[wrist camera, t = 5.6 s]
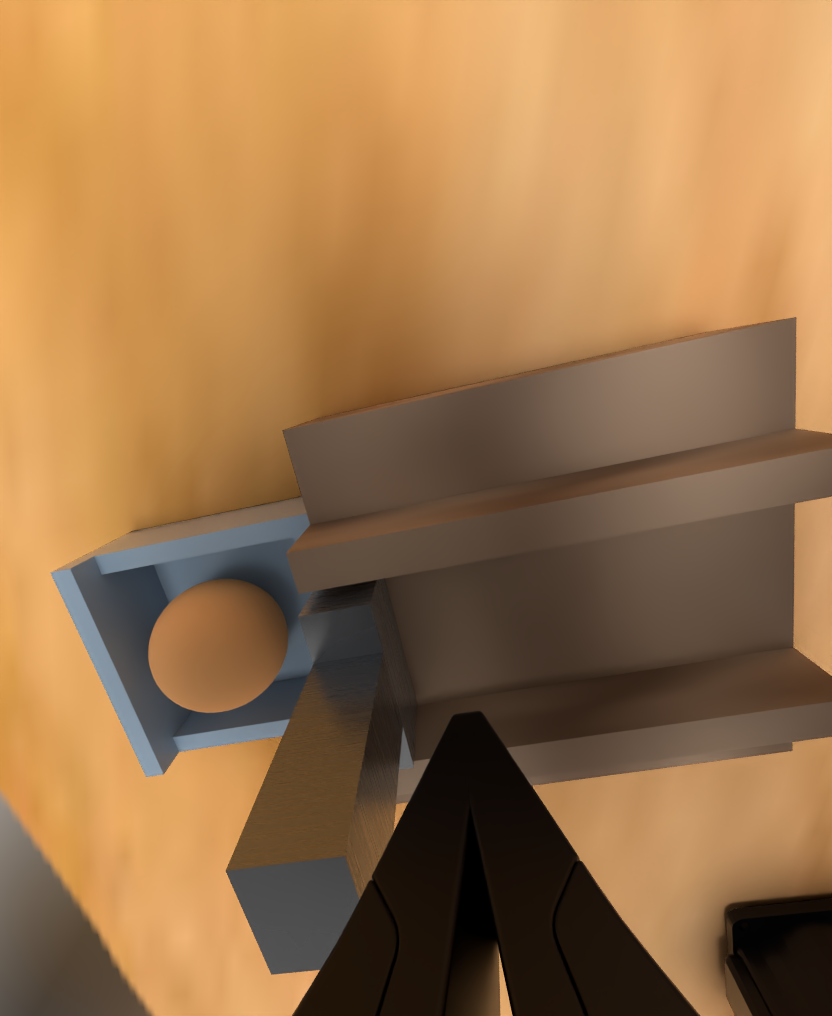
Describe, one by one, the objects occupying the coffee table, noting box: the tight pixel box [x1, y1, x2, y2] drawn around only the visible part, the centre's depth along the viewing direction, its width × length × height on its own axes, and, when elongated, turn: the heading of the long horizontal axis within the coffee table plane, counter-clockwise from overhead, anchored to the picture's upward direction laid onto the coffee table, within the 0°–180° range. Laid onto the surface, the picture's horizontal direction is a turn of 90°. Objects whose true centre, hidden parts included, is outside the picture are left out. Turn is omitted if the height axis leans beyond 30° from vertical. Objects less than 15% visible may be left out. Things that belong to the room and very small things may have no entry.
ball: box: [148, 579, 288, 713], centre depth 14 cm, size 4×4×4 cm
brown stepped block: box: [282, 317, 832, 804], centre depth 13 cm, size 12×12×6 cm
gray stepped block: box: [226, 578, 417, 975], centre depth 9 cm, size 2×4×7 cm, turn 12°
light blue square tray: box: [51, 497, 313, 777], centre depth 15 cm, size 7×7×4 cm
